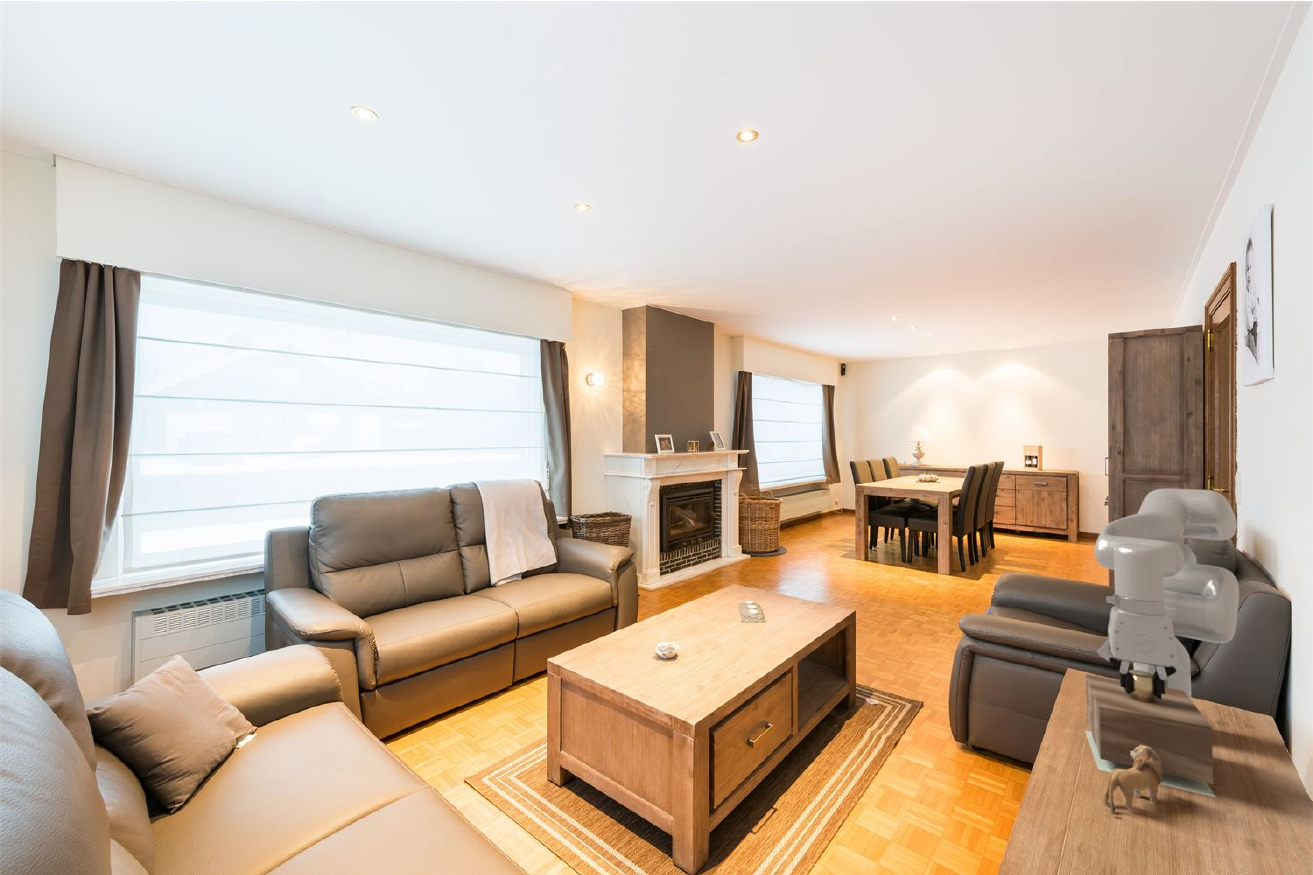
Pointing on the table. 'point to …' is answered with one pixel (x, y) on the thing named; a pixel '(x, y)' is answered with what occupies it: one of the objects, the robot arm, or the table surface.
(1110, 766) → the sage mat
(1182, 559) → the robot arm
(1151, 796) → the lion figurine
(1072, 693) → the table surface
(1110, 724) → the walnut cover
